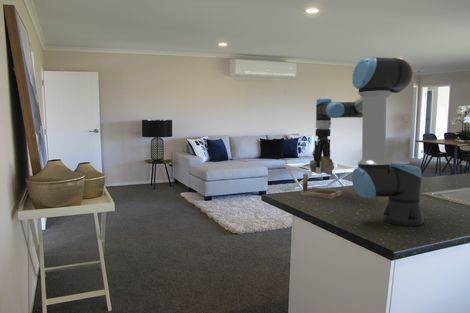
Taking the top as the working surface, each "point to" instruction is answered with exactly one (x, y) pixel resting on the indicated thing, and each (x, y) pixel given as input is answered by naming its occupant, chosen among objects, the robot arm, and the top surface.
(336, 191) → the wooden tray
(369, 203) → the top surface
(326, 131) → the robot arm
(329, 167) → the rock
